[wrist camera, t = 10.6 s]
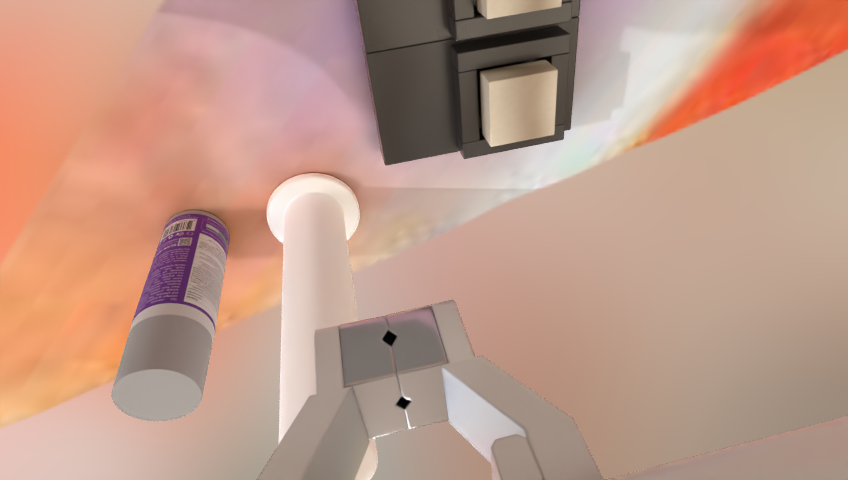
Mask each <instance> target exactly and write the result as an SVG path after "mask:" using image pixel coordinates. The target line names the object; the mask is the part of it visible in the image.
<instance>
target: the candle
mask: <svg viewBox="0 0 848 480" xmlns="http://www.w3.org/2000/svg"><path fill="white" fill-rule="evenodd" d="M359 219H360V208H359V204H358V200H357V198H356V196H355V194H354V193H353V191H352V190H351V189H350V188H349V187H348V186H347V185H346V184H345V183H344V182H342V181H341V180H339V179H337V178H335V177H333V176H330V175H326V174H320V173H307V174H301V175H297V176H294V177H292V178H290V179H288V180H286V181H284V182H283V183H282V184H280V185H279V186H278V187H277V188H276V189H275V191H274V192H273V193H272V195H271V197H270V199H269V201H268V205H267V222H268V225H269V228H270V230H271V231H272V233H273V235H274V236H275V237H276V238H277V239H278V240H279V241H280V242H281V243H283V244H284V245H283V288H282V331H281V375H280V415H279V416H280V417H279V443H280V442H281V440H282V439H283V437H284V435H285V434H286V432H287V431H288V429H289V427H290V426H291V424H292V423H293V421H294V419H295V418H296V416H297V415H298V413H299V411H300V410H301V408H302V407H303V405H304V403H305V402H306V400H307V399H308V397H309V396H311V395H315V394H316V374H315V350H314V334H315V330H318V329H323V328H328V327H333V326H338V325H341V324H346V323H351V322H356V321H358V314H357V307H356V300H355V292H354V285H353V278H352V271H351V264H350V256H349V249H348V242H347V240H348V239H349V238H350V237H351V236H352V235H353V233H354V232H355V230H356V228H357V226H358V223H359ZM369 441H370V443H369V445H368V448H367V450H366V453H365V455H364V458H363V460H362V463H361V465H360V468H359V470H358V473H357V475H356V478H355V480H370V479H371V477H372V476H373V474H374V473H375V471H376V468H377V464H378V457H377V449H376V442H375V438H374V439H370V440H369Z"/></svg>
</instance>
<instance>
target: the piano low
mask: <svg viewBox="0 0 848 480" xmlns="http://www.w3.org/2000/svg"><path fill="white" fill-rule="evenodd" d="M578 23H579V17H573V18H572V19H571V21H570V22H565V23H559V24H553V25H548V26H542V27H536V28H530V29H525V30H519V31H513V32H508V33H502V34H496V35H490V36H485V37H479V38H473V39H467V40H462V41H456V40H455V39H454V38H452V39H446V40H440V41H434V42H429V43H423V44H417V45H411V46H406V47H400V48H394V49H388V50H383V51H377V52H371V53H366V52H365V50H364V47H363V51H364V57H365V63H366V69H367V74H368V80H369V86H370V91H371V97H372V103H373V108H374V114H375V120H376V125H377V131H378V137H379V142H380V148H381V153H382V156H383V160H384V163H385V165H391V164H396V163H401V162H406V161H412V160H417V159H422V158H427V157H432V156H437V155H442V154H447V153H452V152H458V151H460V153H461V154H462V156H463V158H464V159H467V158H472V157H477V156H482V155H487V154H492V153H497V152H502V151H507V150H512V149H517V148H523V147H528V146H533V145H538V144H543V143H548V142H553V141H558V140H563V139H564V131H565V130H570V128H571V115H572V101H573V88H574V75H575V62H576V49H577V36H578ZM362 46H363V45H362ZM539 60H547V61H548V62H549V63H550V64H551V65H553V66H554V67H555V68H556V69H557V70H558V77H557V95H556V113H555V131H554V135H550V136H545V137H540V138H534V139H529V140H524V141H519V142H514V143H509V144H504V145H499V146H494V147H491V146H490V145H489V143H488V142H487V140H486V139H485V137H484V136H483V134H482V121H481V95H480V71H484V70H490V69H495V68H501V67H506V66H512V65H517V64H523V63H528V62H534V61H539Z"/></svg>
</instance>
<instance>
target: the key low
mask: <svg viewBox="0 0 848 480" xmlns="http://www.w3.org/2000/svg"><path fill="white" fill-rule="evenodd" d="M557 77H558V70H557V69H556V68H555V67H554V66H553V65H551V64H550V63H549V62H548V61H547V60H539V61H534V62H528V63H523V64H517V65H512V66H506V67H501V68H495V69H490V70H484V71H480V95H481V121H482V134H483V136H484V137H485V139H486V140H487V142H488V143H489V145H490V146H491V147H494V146H499V145H504V144H509V143H514V142H519V141H524V140H529V139H534V138H540V137H545V136H550V135H554V131H555V113H556V95H557Z"/></svg>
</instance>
